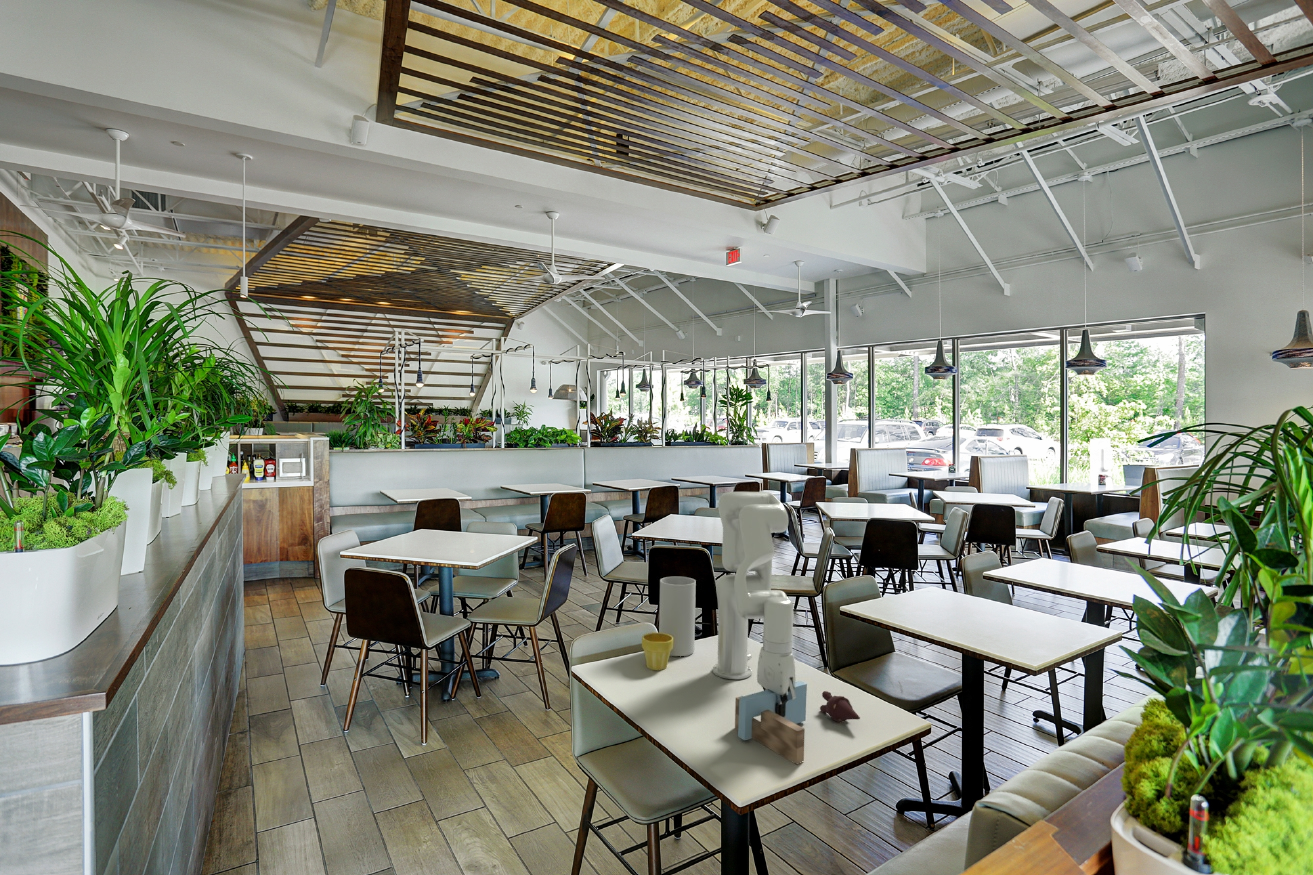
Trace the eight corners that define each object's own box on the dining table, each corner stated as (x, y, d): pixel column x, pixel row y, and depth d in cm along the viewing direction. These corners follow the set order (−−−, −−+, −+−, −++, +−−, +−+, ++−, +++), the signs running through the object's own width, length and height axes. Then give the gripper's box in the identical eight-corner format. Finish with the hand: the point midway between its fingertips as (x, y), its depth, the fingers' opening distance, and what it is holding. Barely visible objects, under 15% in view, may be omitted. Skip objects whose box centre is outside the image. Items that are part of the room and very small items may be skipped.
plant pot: (675, 662, 218) (676, 633, 218) (669, 674, 208) (669, 643, 208) (645, 659, 220) (646, 630, 220) (637, 670, 210) (638, 640, 210)
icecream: (872, 705, 172) (834, 689, 186) (850, 703, 169) (813, 686, 183) (867, 732, 171) (830, 714, 185) (846, 730, 168) (809, 712, 182)
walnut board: (734, 727, 172) (735, 697, 172) (741, 725, 173) (742, 695, 173) (796, 764, 154) (797, 731, 154) (803, 761, 155) (804, 728, 155)
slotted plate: (798, 717, 177) (800, 680, 177) (805, 720, 175) (806, 683, 175) (738, 736, 165) (739, 697, 165) (744, 740, 163) (745, 700, 163)
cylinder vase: (671, 642, 237) (673, 574, 237) (700, 650, 230) (702, 580, 230) (651, 652, 227) (653, 581, 227) (681, 660, 220) (683, 587, 219)
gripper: (746, 639, 175) (744, 707, 175) (790, 657, 161) (788, 731, 162) (766, 634, 179) (764, 700, 179) (810, 652, 166) (809, 723, 166)
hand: (775, 714), depth 171 cm, fingers closed on slotted plate, 2 cm apart
